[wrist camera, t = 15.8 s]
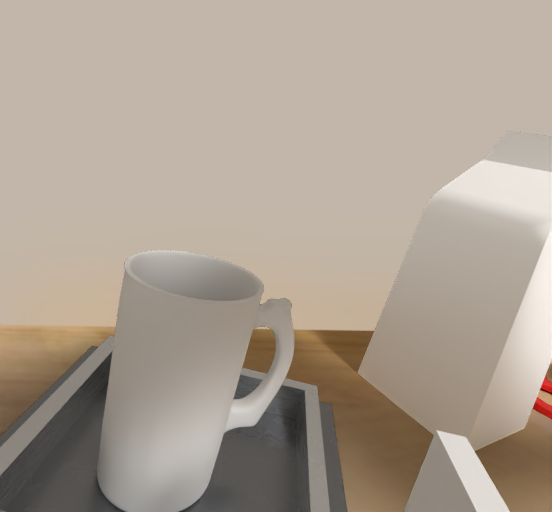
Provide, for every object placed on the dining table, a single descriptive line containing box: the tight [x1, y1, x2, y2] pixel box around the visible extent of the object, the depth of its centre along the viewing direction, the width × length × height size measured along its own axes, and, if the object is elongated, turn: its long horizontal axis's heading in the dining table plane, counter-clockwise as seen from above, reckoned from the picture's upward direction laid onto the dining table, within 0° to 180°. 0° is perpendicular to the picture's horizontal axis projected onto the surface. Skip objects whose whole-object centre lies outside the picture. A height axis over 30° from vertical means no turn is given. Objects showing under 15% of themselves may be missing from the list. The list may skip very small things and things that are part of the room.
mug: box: [97, 250, 294, 512], centre depth 23 cm, size 10×7×12 cm, turn 113°
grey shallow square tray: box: [0, 335, 347, 512], centre depth 24 cm, size 20×20×4 cm
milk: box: [357, 131, 552, 451], centre depth 38 cm, size 12×12×26 cm
